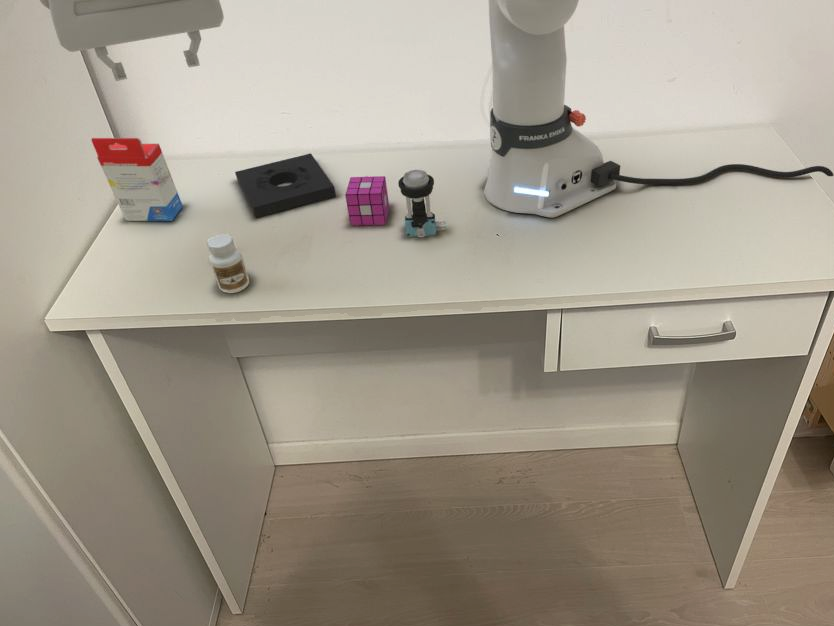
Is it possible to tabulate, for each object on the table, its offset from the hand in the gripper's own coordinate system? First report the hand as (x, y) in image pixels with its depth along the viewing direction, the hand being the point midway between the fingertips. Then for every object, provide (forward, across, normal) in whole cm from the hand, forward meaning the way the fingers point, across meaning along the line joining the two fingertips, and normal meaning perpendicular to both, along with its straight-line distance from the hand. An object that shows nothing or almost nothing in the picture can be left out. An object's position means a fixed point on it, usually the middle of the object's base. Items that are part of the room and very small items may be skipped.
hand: (158, 72), depth 92 cm
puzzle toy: (+26, +24, -8) cm, 36 cm away
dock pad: (+26, +15, +9) cm, 31 cm away
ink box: (+27, -7, +12) cm, 30 cm away
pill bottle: (+26, 0, -15) cm, 30 cm away
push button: (+26, +30, -17) cm, 43 cm away
